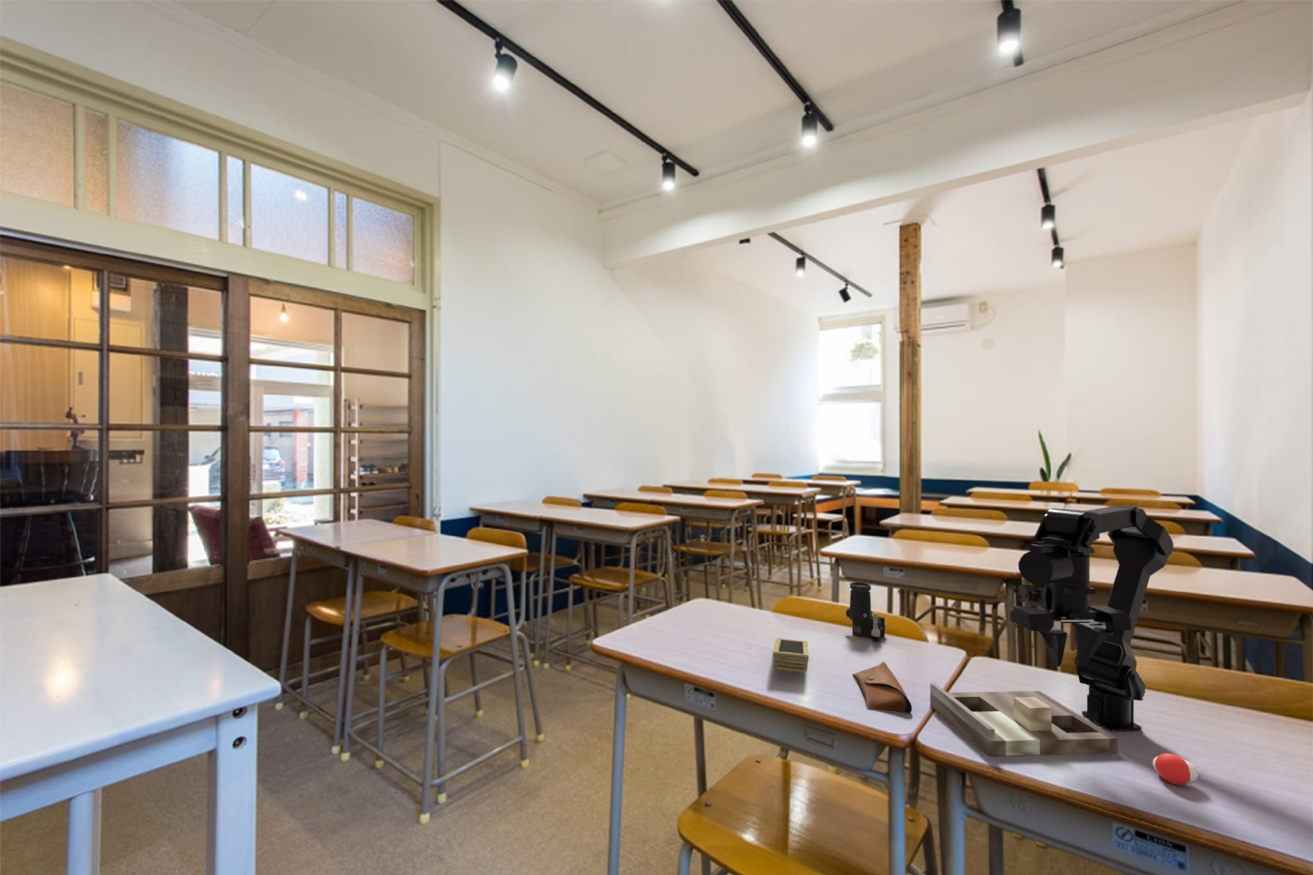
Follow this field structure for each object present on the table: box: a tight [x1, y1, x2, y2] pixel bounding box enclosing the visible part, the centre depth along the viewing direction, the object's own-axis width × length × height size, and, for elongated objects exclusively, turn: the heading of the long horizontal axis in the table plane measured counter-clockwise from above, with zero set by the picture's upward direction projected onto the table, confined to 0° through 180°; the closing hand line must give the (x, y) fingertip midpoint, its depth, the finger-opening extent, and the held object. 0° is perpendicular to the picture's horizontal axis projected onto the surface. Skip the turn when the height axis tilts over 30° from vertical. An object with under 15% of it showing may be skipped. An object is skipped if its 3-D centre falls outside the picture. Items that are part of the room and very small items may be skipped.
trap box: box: [929, 682, 1119, 757], centre depth 103 cm, size 23×18×4 cm
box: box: [772, 637, 810, 674], centre depth 132 cm, size 8×22×5 cm, turn 167°
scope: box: [845, 581, 887, 643], centre depth 152 cm, size 8×14×10 cm
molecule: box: [1152, 752, 1199, 786], centre depth 87 cm, size 5×5×4 cm
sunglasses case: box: [852, 661, 913, 715], centre depth 117 cm, size 18×7×7 cm
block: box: [1014, 697, 1052, 731], centre depth 99 cm, size 4×4×4 cm
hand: (1069, 665), depth 100 cm, fingers open, 4 cm apart
